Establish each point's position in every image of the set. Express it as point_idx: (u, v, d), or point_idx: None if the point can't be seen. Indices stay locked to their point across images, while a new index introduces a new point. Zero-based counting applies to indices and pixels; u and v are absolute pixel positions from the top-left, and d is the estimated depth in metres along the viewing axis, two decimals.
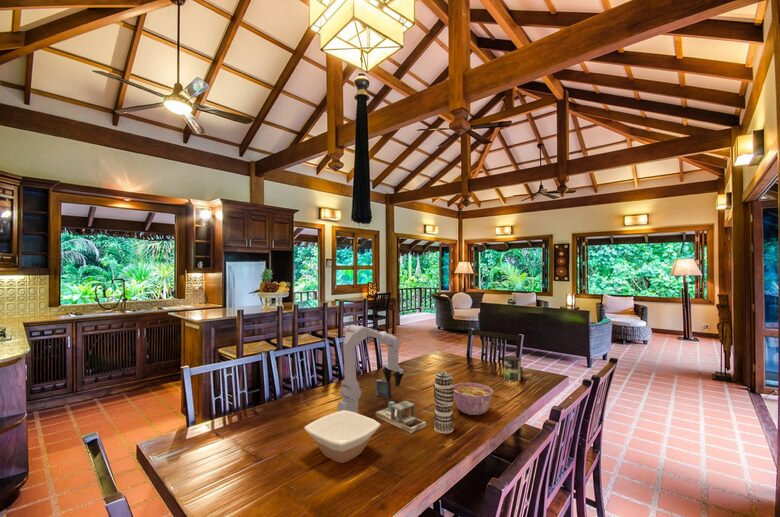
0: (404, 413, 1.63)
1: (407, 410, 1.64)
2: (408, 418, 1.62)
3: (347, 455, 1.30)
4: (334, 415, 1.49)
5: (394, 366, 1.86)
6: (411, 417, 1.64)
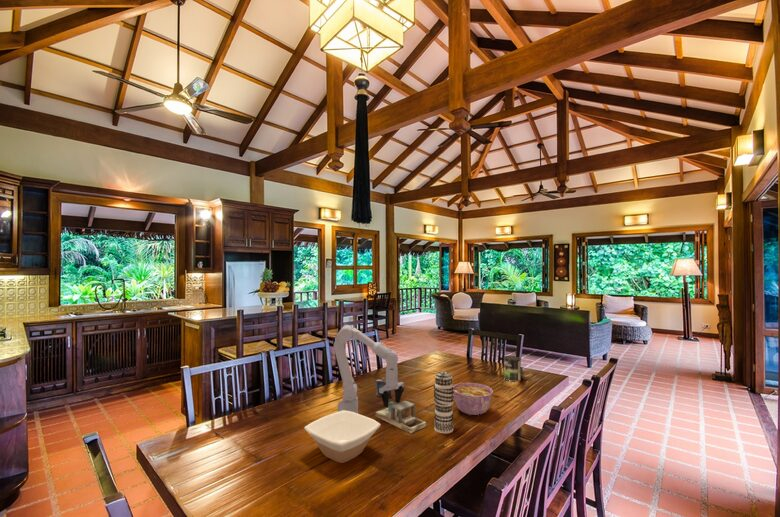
0: (404, 413, 1.63)
1: (407, 410, 1.64)
2: (408, 418, 1.62)
3: (347, 455, 1.30)
4: (334, 415, 1.49)
5: (386, 383, 1.70)
6: (411, 417, 1.64)
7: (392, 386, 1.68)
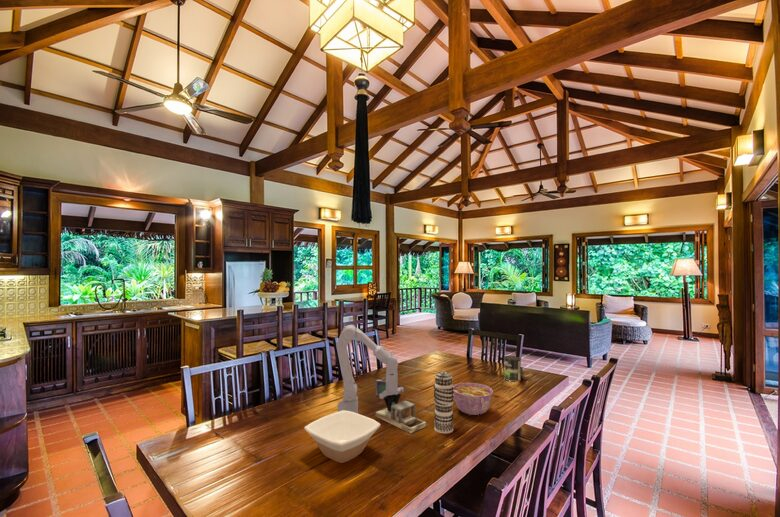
0: (404, 413, 1.63)
1: (407, 410, 1.64)
2: (408, 418, 1.62)
3: (347, 455, 1.30)
4: (334, 415, 1.49)
5: (386, 388, 1.70)
6: (411, 417, 1.64)
7: (392, 391, 1.68)
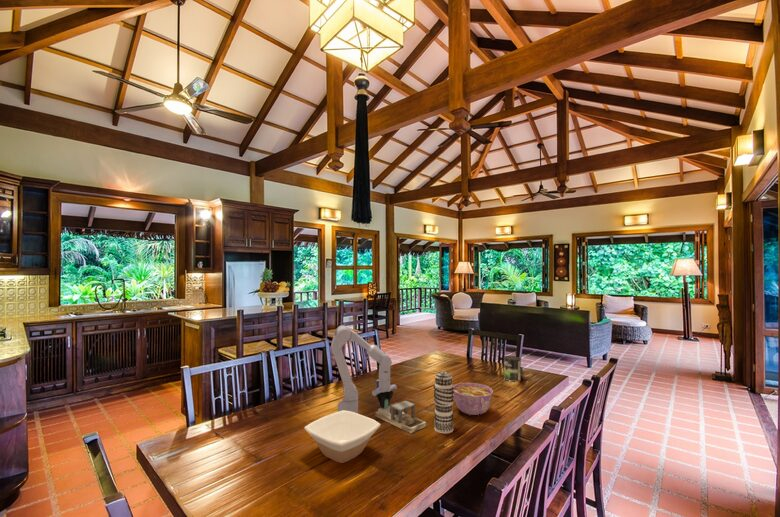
0: (396, 410, 1.67)
1: None
2: None
3: (347, 455, 1.30)
4: (334, 415, 1.49)
5: (379, 386, 1.74)
6: (403, 414, 1.67)
7: (385, 388, 1.72)
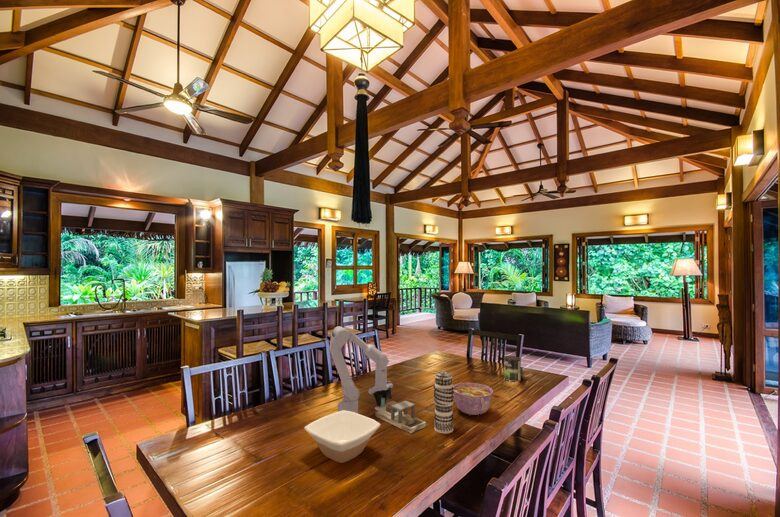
0: None
1: None
2: (396, 413, 1.68)
3: (347, 455, 1.30)
4: (334, 415, 1.49)
5: (375, 384, 1.76)
6: None
7: (381, 387, 1.74)
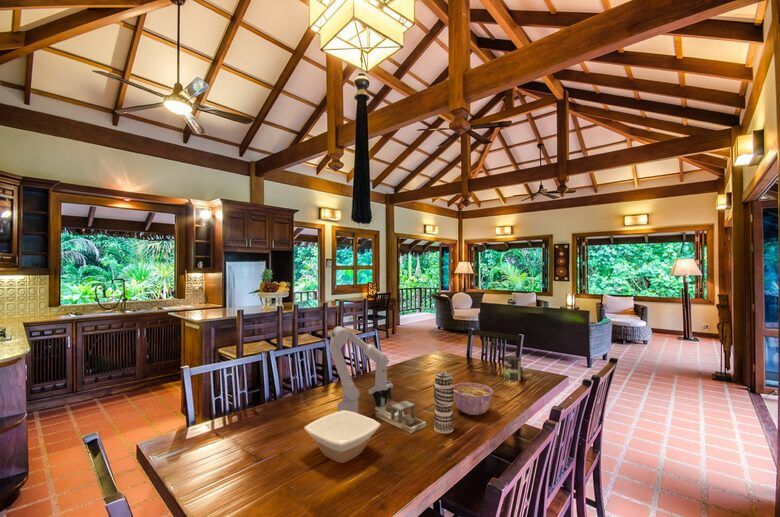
0: None
1: None
2: (396, 413, 1.68)
3: (347, 455, 1.30)
4: (334, 415, 1.49)
5: (375, 384, 1.76)
6: None
7: (381, 387, 1.74)
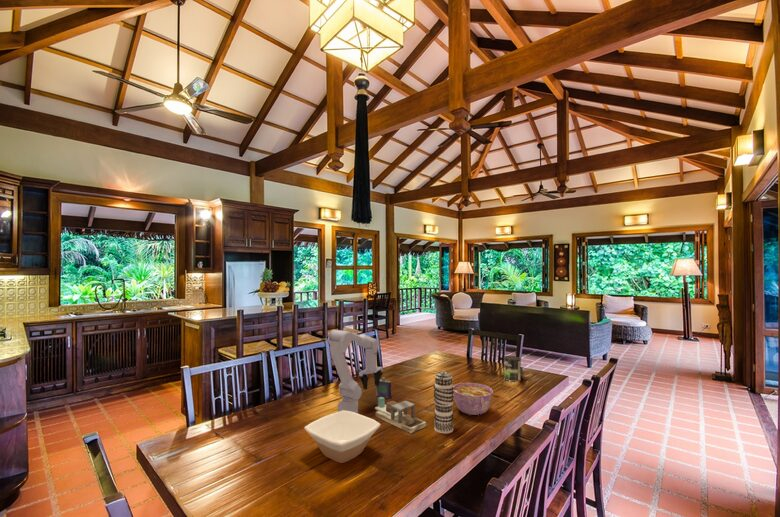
0: None
1: None
2: (396, 413, 1.68)
3: (347, 455, 1.30)
4: (334, 415, 1.49)
5: None
6: None
7: (371, 370, 1.82)
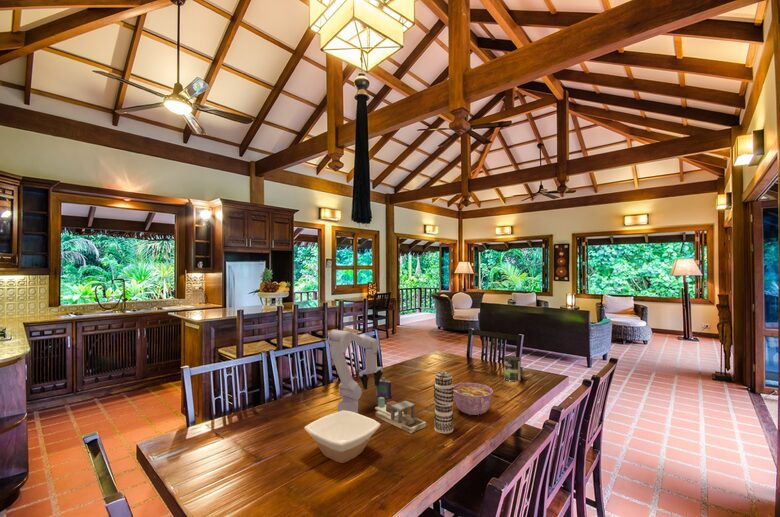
0: None
1: None
2: (396, 413, 1.68)
3: (347, 455, 1.30)
4: (334, 415, 1.49)
5: None
6: None
7: (371, 370, 1.82)
